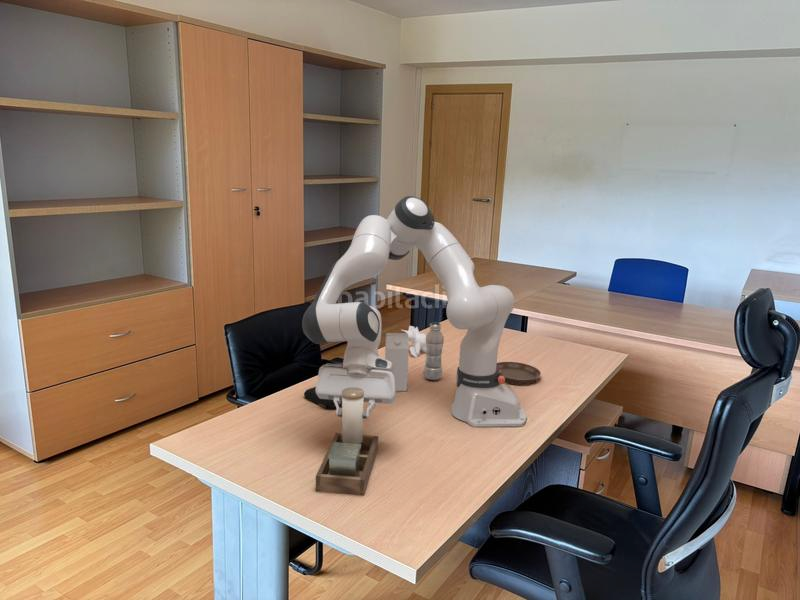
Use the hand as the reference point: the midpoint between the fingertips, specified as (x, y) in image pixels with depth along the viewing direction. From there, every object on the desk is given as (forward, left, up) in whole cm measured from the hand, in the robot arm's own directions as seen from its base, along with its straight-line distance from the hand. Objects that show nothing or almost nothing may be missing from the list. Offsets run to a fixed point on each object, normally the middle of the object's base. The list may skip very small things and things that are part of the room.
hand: (352, 417), depth 139 cm
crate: (0, +5, -13) cm, 14 cm away
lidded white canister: (0, -1, -6) cm, 6 cm away
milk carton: (-5, -51, -13) cm, 53 cm away
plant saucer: (-46, -68, -13) cm, 83 cm away
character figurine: (-9, -87, -13) cm, 88 cm away
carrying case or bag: (+15, -37, -13) cm, 42 cm away
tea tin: (0, +10, -11) cm, 15 cm away
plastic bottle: (-17, -61, -13) cm, 65 cm away
